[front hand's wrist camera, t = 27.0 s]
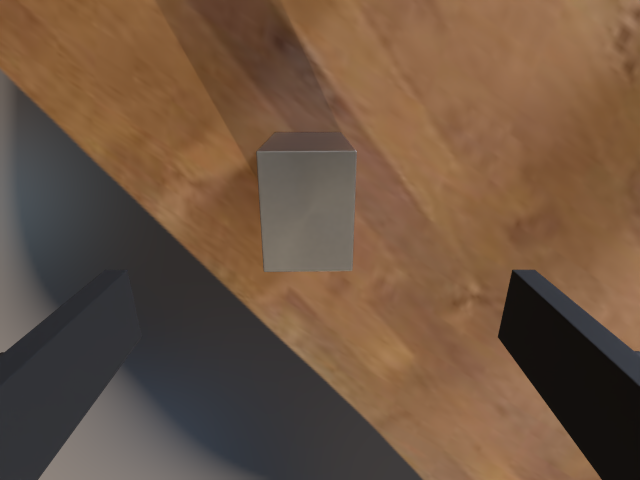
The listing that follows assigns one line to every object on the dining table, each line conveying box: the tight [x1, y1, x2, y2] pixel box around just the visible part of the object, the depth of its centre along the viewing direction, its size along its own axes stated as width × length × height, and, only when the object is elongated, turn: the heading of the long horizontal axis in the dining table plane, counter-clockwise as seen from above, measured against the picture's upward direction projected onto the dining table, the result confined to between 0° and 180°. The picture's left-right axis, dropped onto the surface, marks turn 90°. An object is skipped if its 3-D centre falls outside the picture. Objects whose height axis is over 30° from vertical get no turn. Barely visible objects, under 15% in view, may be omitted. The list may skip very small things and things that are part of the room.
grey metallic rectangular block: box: [256, 132, 357, 272], centre depth 28 cm, size 6×8×12 cm
